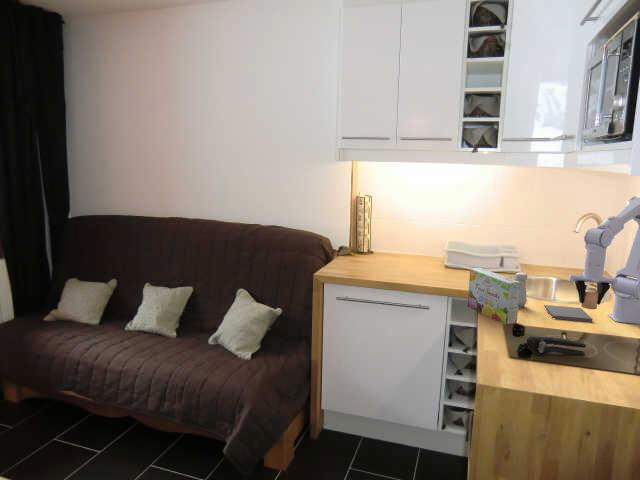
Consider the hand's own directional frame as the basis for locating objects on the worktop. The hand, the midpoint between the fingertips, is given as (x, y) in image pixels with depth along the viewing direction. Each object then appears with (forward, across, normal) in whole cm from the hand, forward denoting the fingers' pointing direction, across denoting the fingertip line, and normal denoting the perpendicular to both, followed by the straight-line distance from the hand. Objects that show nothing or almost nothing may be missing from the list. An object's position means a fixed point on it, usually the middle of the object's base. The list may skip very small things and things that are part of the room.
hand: (589, 303), depth 168 cm
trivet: (+8, -3, +12) cm, 15 cm away
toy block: (+1, 0, 0) cm, 1 cm away
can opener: (+9, -18, -29) cm, 35 cm away
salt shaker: (+9, -19, +18) cm, 28 cm away
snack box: (+9, -31, +4) cm, 32 cm away
